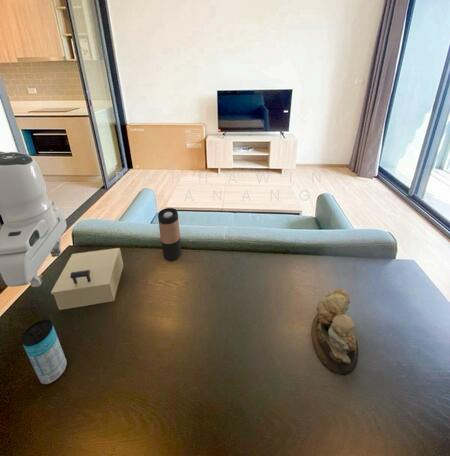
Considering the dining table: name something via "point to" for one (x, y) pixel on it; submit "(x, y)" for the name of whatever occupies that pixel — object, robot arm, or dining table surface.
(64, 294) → the bin
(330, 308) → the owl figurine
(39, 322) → the supplement bottle
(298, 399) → the dining table surface
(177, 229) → the travel mug
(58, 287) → the bin lid
